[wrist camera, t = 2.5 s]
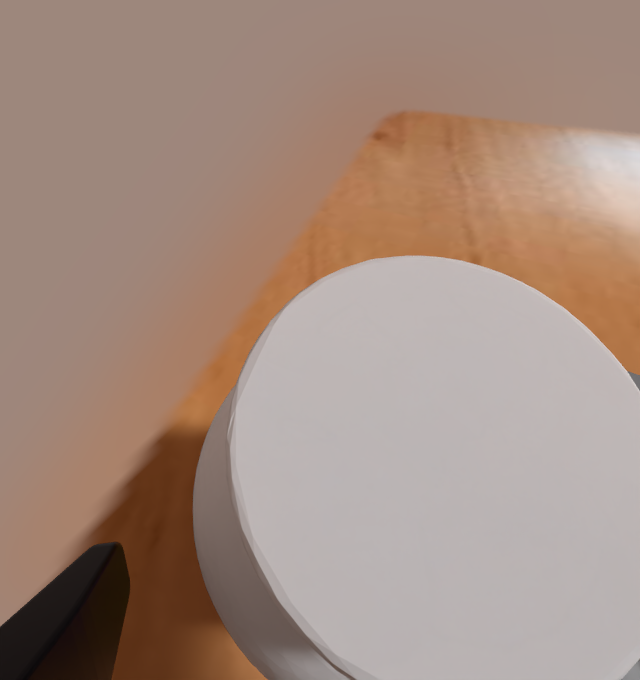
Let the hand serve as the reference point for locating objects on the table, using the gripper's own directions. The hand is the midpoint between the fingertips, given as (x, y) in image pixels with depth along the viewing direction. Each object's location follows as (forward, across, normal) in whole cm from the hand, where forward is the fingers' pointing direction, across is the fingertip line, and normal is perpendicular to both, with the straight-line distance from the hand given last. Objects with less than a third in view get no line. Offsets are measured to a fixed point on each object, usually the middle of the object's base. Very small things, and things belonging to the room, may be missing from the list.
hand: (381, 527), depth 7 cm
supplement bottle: (+7, 0, +6) cm, 9 cm away
